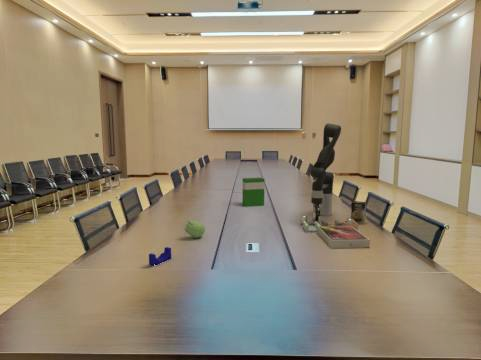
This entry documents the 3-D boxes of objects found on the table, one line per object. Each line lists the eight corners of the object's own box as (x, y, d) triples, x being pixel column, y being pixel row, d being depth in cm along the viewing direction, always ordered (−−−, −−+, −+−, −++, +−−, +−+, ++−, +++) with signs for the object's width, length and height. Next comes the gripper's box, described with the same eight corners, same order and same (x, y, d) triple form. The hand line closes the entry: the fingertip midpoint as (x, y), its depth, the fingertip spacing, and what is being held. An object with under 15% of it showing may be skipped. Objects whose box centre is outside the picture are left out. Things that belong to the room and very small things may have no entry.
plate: (325, 225, 222) (325, 224, 222) (334, 225, 222) (334, 224, 222) (327, 227, 216) (327, 226, 216) (337, 227, 216) (337, 226, 216)
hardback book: (261, 203, 299) (261, 177, 296) (264, 205, 292) (264, 178, 289) (242, 205, 294) (242, 178, 291) (245, 206, 287) (245, 179, 284)
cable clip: (164, 257, 171) (164, 246, 170) (171, 259, 169) (171, 248, 168) (147, 265, 161) (146, 253, 160) (153, 267, 159) (153, 255, 158)
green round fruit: (196, 233, 211) (196, 216, 209) (207, 237, 203) (207, 220, 201) (180, 237, 202) (180, 220, 201) (191, 242, 195) (191, 223, 193)
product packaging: (331, 249, 185) (331, 240, 184) (317, 233, 213) (317, 226, 212) (369, 248, 186) (369, 239, 185) (350, 233, 214) (350, 225, 213)
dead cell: (345, 227, 221) (345, 216, 220) (351, 227, 221) (352, 217, 220) (347, 229, 217) (347, 218, 216) (354, 229, 217) (354, 218, 216)
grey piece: (302, 227, 225) (302, 219, 224) (355, 227, 225) (356, 219, 224) (305, 232, 214) (305, 223, 214) (361, 232, 214) (361, 223, 213)
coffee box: (350, 224, 232) (351, 202, 230) (351, 222, 237) (352, 200, 235) (364, 226, 228) (365, 203, 225) (365, 224, 233) (366, 201, 231)
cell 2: (312, 220, 234) (312, 211, 233) (318, 220, 234) (319, 211, 232) (313, 222, 229) (313, 212, 228) (320, 222, 229) (320, 212, 228)
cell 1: (299, 223, 235) (300, 214, 234) (306, 223, 234) (306, 214, 233) (300, 225, 230) (301, 215, 229) (307, 225, 230) (307, 215, 229)
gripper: (324, 198, 221) (323, 223, 224) (320, 194, 235) (319, 217, 238) (313, 198, 222) (312, 223, 224) (309, 194, 236) (309, 217, 238)
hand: (316, 220), depth 231 cm, fingers closed on cell 2, 4 cm apart
